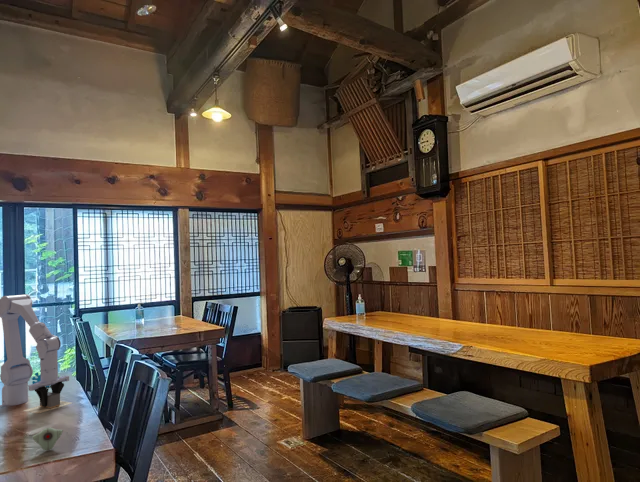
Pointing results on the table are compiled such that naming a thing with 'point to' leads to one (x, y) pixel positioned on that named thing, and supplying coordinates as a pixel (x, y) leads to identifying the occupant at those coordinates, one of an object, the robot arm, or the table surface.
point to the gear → (37, 378)
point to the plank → (45, 408)
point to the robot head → (47, 438)
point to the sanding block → (52, 400)
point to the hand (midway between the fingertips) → (50, 404)
